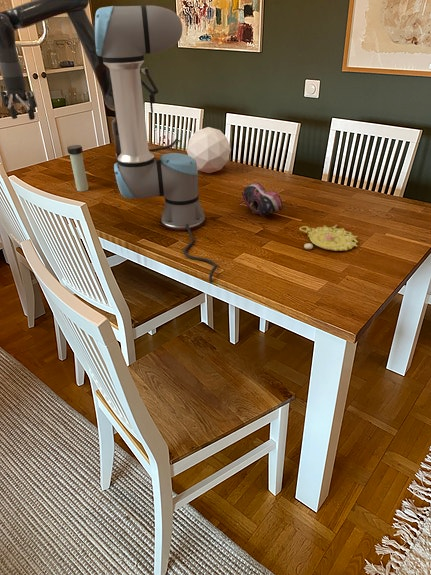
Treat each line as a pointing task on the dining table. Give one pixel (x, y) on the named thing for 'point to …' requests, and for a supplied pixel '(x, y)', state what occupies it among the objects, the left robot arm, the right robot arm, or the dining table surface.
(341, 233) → the decorative object
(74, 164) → the pale green capped tube
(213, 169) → the sphere
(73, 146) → the lid
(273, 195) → the athletic shoe
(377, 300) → the dining table surface
